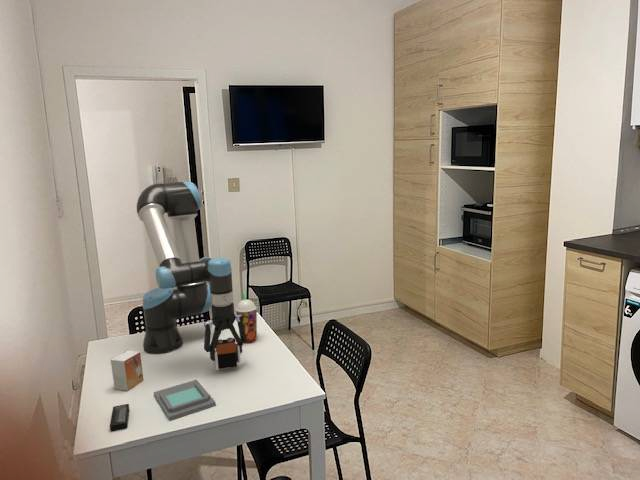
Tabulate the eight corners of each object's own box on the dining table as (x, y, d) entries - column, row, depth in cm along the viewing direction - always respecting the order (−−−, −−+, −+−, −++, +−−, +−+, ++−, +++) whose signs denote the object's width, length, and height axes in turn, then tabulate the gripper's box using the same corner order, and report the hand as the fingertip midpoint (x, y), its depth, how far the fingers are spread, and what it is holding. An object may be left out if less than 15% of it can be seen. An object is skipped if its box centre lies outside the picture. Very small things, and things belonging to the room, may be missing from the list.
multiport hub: (110, 433, 134) (109, 425, 134) (114, 413, 144) (113, 406, 144) (127, 429, 135) (126, 422, 135) (129, 410, 146) (128, 403, 145)
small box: (127, 391, 157) (123, 361, 155) (114, 389, 159) (110, 359, 157) (144, 380, 164) (140, 351, 162) (131, 378, 166) (127, 349, 164)
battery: (237, 367, 167) (235, 340, 165) (217, 369, 166) (215, 343, 164) (236, 361, 171) (234, 335, 169) (217, 364, 170) (215, 338, 168)
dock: (154, 395, 153) (153, 388, 153) (196, 382, 160) (196, 376, 160) (169, 420, 138) (168, 413, 138) (215, 405, 145) (215, 398, 145)
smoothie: (241, 336, 199) (238, 290, 195) (261, 336, 198) (257, 290, 194) (235, 344, 191) (231, 296, 187) (255, 344, 190) (252, 296, 186)
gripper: (196, 312, 155) (202, 377, 160) (254, 300, 166) (258, 361, 171) (189, 306, 161) (195, 369, 166) (245, 294, 172) (249, 353, 177)
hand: (227, 365), depth 168 cm, fingers closed on battery, 8 cm apart
